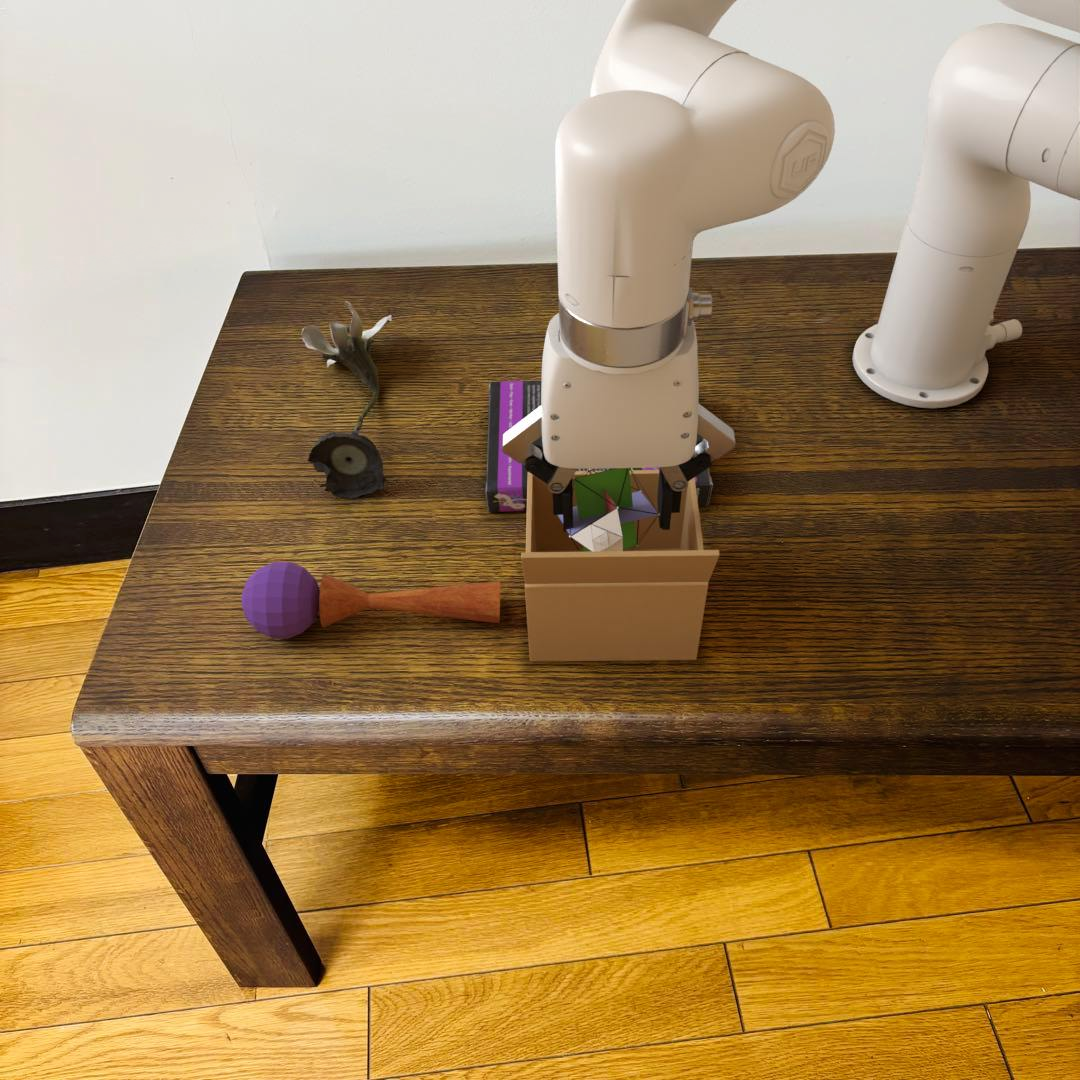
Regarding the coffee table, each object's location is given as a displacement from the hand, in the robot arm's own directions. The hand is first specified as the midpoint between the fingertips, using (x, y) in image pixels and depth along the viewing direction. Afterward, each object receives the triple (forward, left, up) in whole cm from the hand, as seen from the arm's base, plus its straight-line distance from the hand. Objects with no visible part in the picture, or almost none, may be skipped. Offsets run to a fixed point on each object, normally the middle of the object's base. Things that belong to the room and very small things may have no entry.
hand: (615, 514), depth 73 cm
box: (-5, -16, -11) cm, 20 cm away
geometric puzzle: (+1, 0, -3) cm, 3 cm away
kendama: (+18, -5, -11) cm, 22 cm away
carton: (0, 0, -10) cm, 10 cm away
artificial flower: (+15, -30, -11) cm, 35 cm away
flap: (+2, +6, +2) cm, 7 cm away
